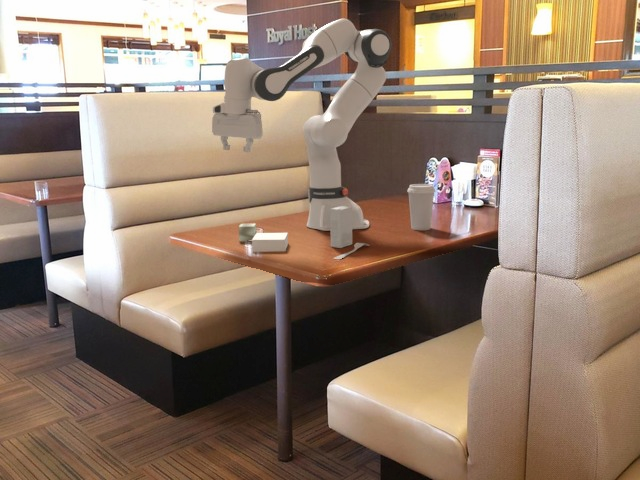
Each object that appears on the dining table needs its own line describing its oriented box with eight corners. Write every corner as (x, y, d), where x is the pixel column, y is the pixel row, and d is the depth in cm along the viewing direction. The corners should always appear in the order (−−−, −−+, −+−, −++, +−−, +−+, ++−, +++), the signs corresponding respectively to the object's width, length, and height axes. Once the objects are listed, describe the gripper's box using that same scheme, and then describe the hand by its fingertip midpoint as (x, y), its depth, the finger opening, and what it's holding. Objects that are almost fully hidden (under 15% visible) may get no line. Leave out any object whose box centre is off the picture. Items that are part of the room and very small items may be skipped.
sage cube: (256, 238, 212) (256, 223, 211) (254, 241, 207) (253, 226, 206) (241, 238, 212) (241, 223, 211) (239, 241, 207) (238, 226, 206)
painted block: (288, 244, 202) (287, 232, 201) (285, 252, 192) (284, 239, 192) (256, 245, 203) (256, 233, 202) (252, 252, 193) (251, 239, 192)
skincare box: (342, 243, 201) (341, 205, 198) (353, 245, 198) (352, 206, 195) (329, 246, 196) (328, 208, 194) (341, 248, 194) (340, 209, 191)
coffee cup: (438, 226, 222) (438, 184, 219) (430, 232, 214) (431, 187, 211) (411, 225, 226) (411, 183, 223) (403, 230, 218) (403, 186, 215)
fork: (331, 268, 182) (330, 259, 181) (364, 245, 198) (364, 237, 197) (339, 269, 180) (339, 260, 179) (372, 246, 197) (372, 238, 196)
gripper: (267, 110, 206) (266, 153, 208) (222, 108, 217) (222, 148, 220) (254, 109, 201) (252, 153, 203) (209, 107, 213) (208, 149, 215)
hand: (236, 151), depth 212 cm, fingers open, 8 cm apart
